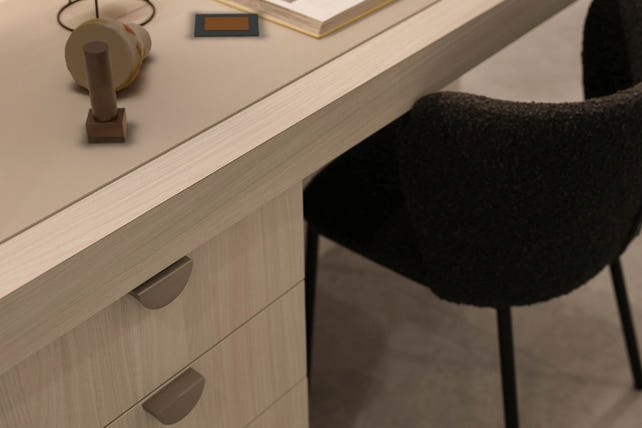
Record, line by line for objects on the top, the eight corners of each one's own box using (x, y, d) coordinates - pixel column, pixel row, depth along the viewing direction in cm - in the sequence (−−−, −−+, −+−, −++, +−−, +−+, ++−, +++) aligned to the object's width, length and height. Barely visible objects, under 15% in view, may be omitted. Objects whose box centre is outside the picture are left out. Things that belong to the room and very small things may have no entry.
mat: (194, 39, 94) (194, 34, 93) (195, 17, 98) (195, 13, 98) (259, 38, 94) (258, 34, 94) (257, 16, 99) (257, 12, 98)
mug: (172, 55, 91) (166, -2, 82) (128, 129, 87) (116, 78, 78) (108, 28, 91) (95, -32, 82) (62, 100, 88) (42, 46, 79)
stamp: (88, 145, 77) (74, 54, 71) (92, 129, 79) (78, 39, 73) (125, 145, 77) (113, 53, 72) (128, 129, 79) (116, 39, 74)
